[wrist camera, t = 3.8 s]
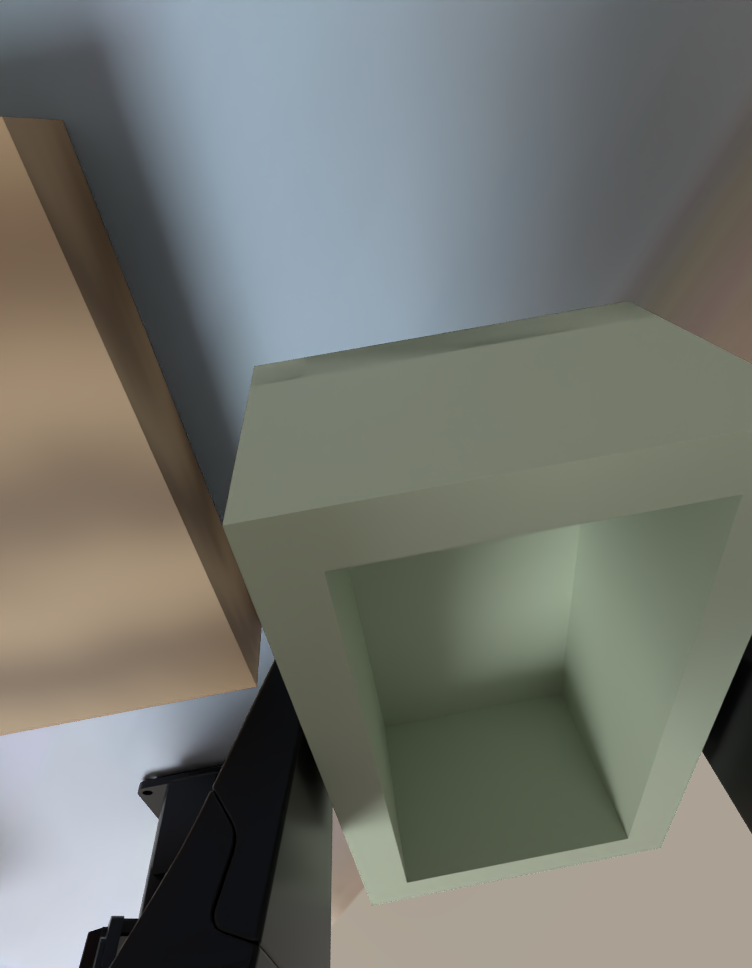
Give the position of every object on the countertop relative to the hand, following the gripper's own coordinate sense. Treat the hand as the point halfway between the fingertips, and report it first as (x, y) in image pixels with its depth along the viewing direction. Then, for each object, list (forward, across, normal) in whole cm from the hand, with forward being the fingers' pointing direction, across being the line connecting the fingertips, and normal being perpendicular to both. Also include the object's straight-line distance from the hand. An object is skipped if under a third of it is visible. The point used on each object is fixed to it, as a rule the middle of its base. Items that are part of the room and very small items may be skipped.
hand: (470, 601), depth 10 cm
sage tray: (+1, 0, 0) cm, 1 cm away
